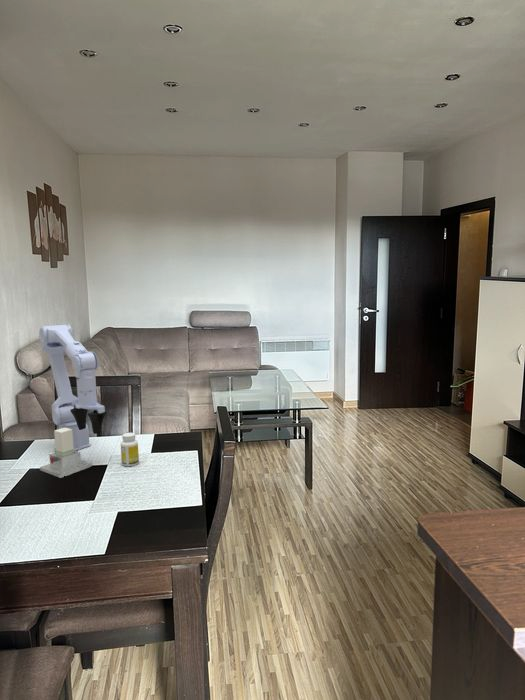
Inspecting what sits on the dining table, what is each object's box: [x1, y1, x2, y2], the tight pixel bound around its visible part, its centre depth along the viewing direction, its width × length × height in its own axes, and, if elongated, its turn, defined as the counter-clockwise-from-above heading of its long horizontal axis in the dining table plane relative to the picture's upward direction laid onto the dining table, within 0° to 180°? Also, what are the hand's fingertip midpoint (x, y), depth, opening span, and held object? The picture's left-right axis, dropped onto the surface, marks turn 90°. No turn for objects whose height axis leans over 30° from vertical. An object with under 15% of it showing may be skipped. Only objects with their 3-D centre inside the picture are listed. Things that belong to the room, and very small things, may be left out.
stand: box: [39, 450, 92, 479], centre depth 156 cm, size 11×11×5 cm
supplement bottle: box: [120, 432, 140, 467], centre depth 159 cm, size 5×5×10 cm
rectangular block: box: [53, 428, 74, 457], centre depth 155 cm, size 4×4×8 cm
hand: (89, 431), depth 160 cm, fingers open, 7 cm apart
